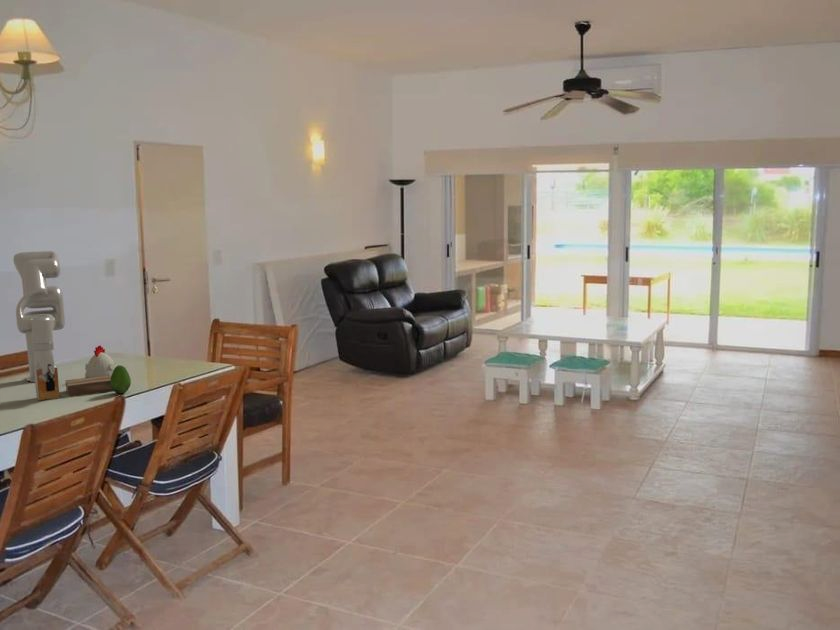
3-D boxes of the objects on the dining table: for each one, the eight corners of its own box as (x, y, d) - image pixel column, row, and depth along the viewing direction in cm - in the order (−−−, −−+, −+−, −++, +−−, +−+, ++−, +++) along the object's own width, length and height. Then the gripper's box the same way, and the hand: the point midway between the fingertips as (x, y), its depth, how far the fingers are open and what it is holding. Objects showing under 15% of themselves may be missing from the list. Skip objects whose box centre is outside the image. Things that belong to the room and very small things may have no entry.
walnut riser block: (66, 391, 340) (65, 380, 340) (111, 386, 349) (110, 375, 348) (68, 397, 330) (67, 385, 329) (114, 391, 338) (113, 380, 337)
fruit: (125, 395, 329) (122, 367, 327) (107, 395, 330) (105, 367, 328) (135, 391, 336) (132, 363, 335) (117, 390, 338) (115, 363, 336)
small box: (38, 400, 323) (35, 369, 321) (36, 397, 329) (33, 367, 327) (60, 397, 328) (57, 366, 326) (57, 394, 333) (54, 364, 331)
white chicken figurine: (79, 381, 358) (76, 348, 356) (95, 374, 372) (92, 343, 370) (108, 381, 357) (106, 348, 355) (123, 374, 370) (121, 343, 368)
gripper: (26, 345, 329) (30, 387, 331) (41, 350, 316) (45, 394, 319) (45, 343, 334) (49, 384, 336) (60, 348, 321) (64, 390, 324)
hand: (47, 388), depth 328 cm, fingers closed on small box, 6 cm apart
